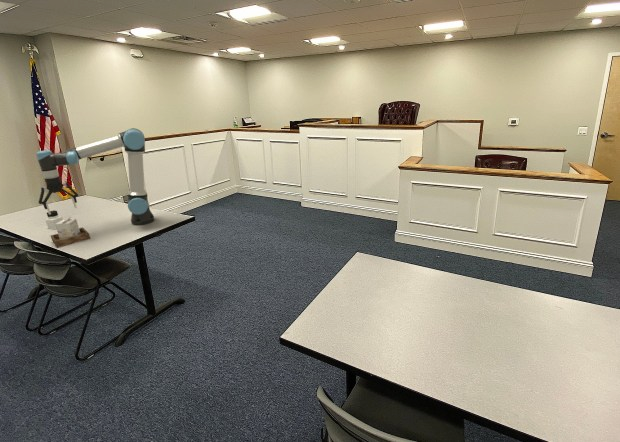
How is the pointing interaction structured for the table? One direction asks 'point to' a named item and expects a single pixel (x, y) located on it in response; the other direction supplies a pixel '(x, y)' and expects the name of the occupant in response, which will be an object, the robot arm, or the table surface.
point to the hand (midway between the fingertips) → (63, 210)
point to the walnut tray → (70, 238)
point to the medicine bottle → (53, 219)
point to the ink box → (67, 228)
